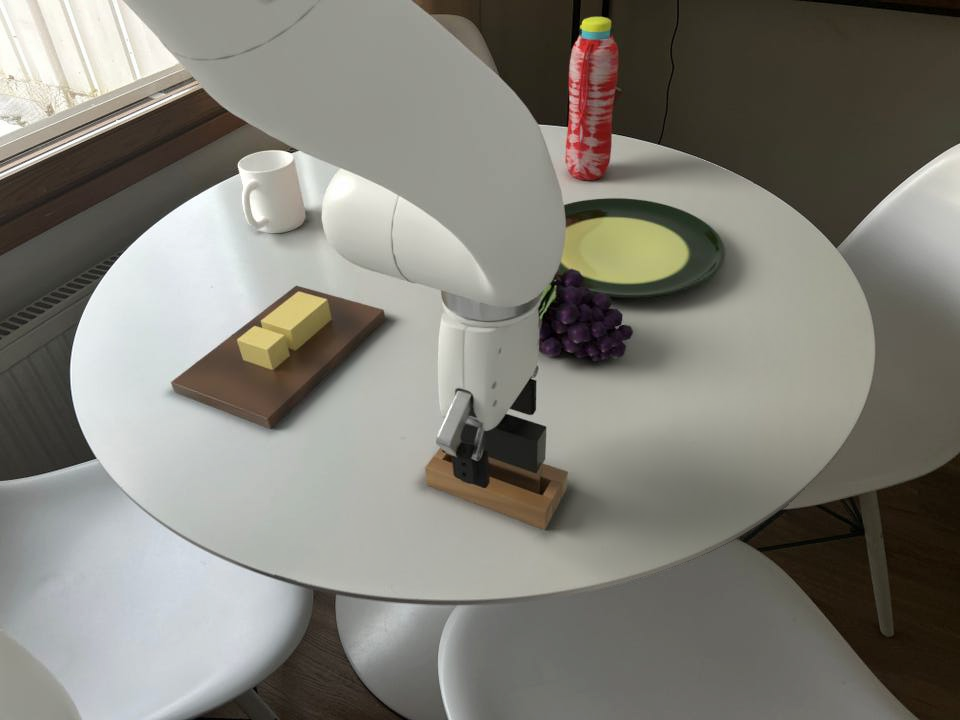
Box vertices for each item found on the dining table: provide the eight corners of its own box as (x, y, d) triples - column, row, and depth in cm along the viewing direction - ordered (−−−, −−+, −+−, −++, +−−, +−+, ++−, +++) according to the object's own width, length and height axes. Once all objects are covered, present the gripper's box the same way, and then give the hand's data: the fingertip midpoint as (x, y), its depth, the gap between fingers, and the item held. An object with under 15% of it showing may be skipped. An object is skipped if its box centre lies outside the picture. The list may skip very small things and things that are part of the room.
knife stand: (545, 530, 62) (545, 512, 60) (427, 485, 66) (424, 467, 65) (566, 489, 65) (567, 471, 64) (453, 449, 70) (451, 431, 68)
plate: (711, 328, 84) (714, 311, 83) (494, 291, 92) (493, 275, 91) (730, 224, 104) (733, 209, 103) (551, 202, 113) (551, 187, 111)
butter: (295, 350, 81) (290, 330, 79) (266, 341, 83) (260, 320, 81) (331, 319, 86) (327, 299, 84) (303, 311, 88) (298, 291, 86)
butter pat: (273, 370, 78) (267, 349, 76) (243, 360, 80) (236, 339, 78) (290, 355, 80) (284, 334, 78) (260, 345, 82) (254, 325, 80)
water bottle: (582, 155, 127) (591, 5, 112) (624, 163, 124) (639, 9, 108) (553, 179, 119) (559, 22, 104) (596, 188, 116) (609, 27, 100)
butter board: (270, 429, 73) (267, 418, 72) (174, 392, 78) (170, 382, 77) (385, 319, 88) (383, 309, 87) (298, 294, 93) (296, 285, 92)
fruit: (607, 396, 80) (486, 351, 81) (625, 333, 86) (513, 292, 88) (636, 341, 72) (501, 291, 73) (654, 275, 78) (530, 231, 80)
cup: (315, 212, 112) (303, 152, 106) (279, 248, 103) (263, 185, 97) (270, 207, 114) (255, 148, 108) (230, 242, 105) (212, 179, 99)
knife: (535, 511, 63) (537, 441, 58) (449, 479, 67) (443, 410, 61) (544, 495, 65) (546, 426, 59) (459, 465, 68) (454, 396, 62)
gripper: (496, 222, 59) (501, 375, 70) (384, 334, 47) (411, 497, 58) (579, 239, 56) (571, 396, 67) (483, 363, 44) (491, 529, 55)
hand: (496, 443), depth 62 cm, fingers open, 9 cm apart
